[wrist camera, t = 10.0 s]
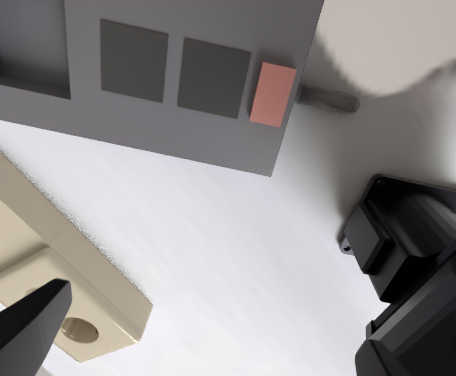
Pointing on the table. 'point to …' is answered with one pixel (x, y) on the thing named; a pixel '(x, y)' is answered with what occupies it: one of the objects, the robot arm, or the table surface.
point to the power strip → (163, 74)
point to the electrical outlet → (64, 271)
